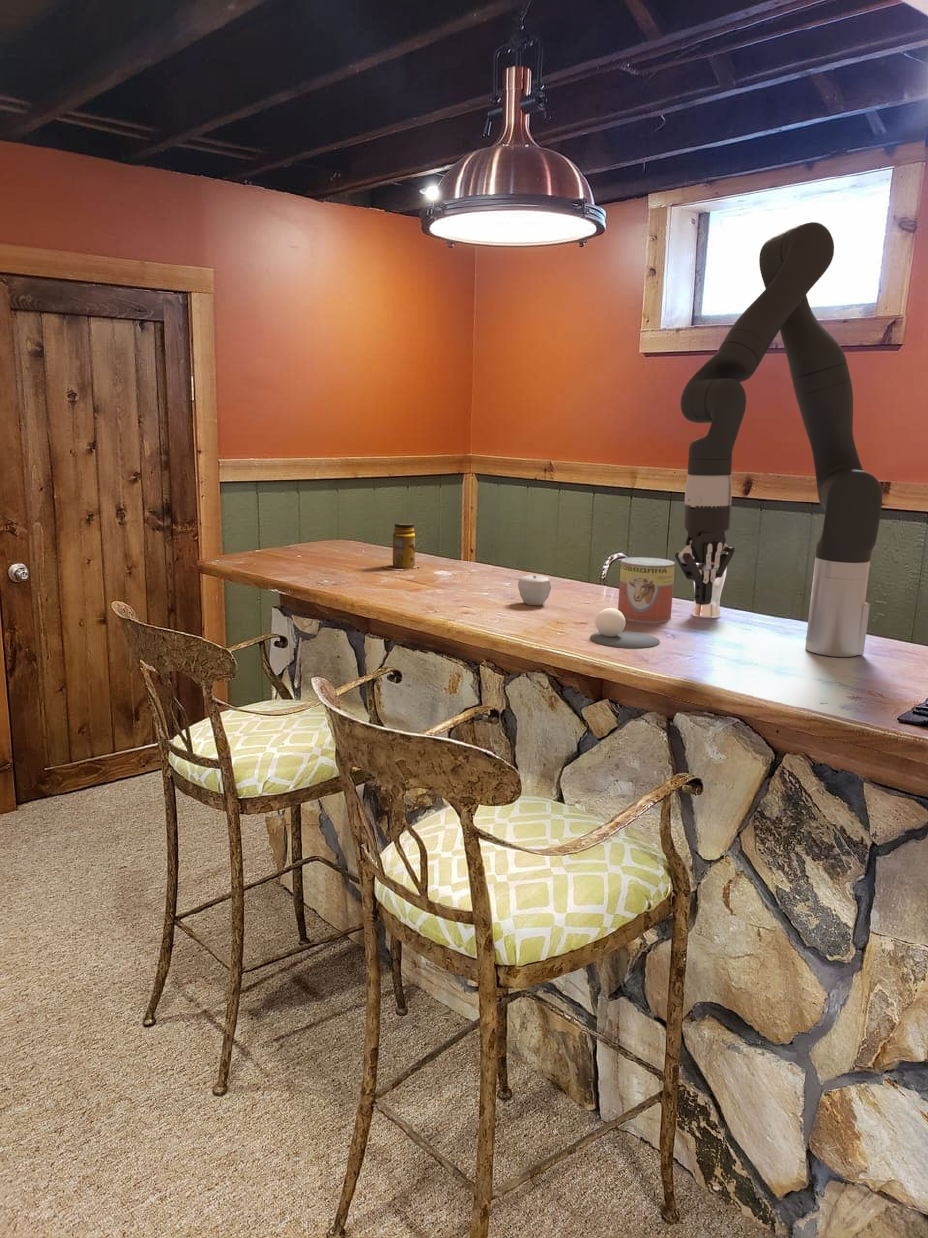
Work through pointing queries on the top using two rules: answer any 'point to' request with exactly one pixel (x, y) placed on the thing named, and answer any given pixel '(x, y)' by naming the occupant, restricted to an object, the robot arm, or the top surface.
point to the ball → (610, 622)
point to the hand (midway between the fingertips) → (702, 603)
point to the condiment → (403, 547)
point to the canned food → (646, 589)
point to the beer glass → (714, 607)
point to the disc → (626, 640)
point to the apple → (534, 589)
